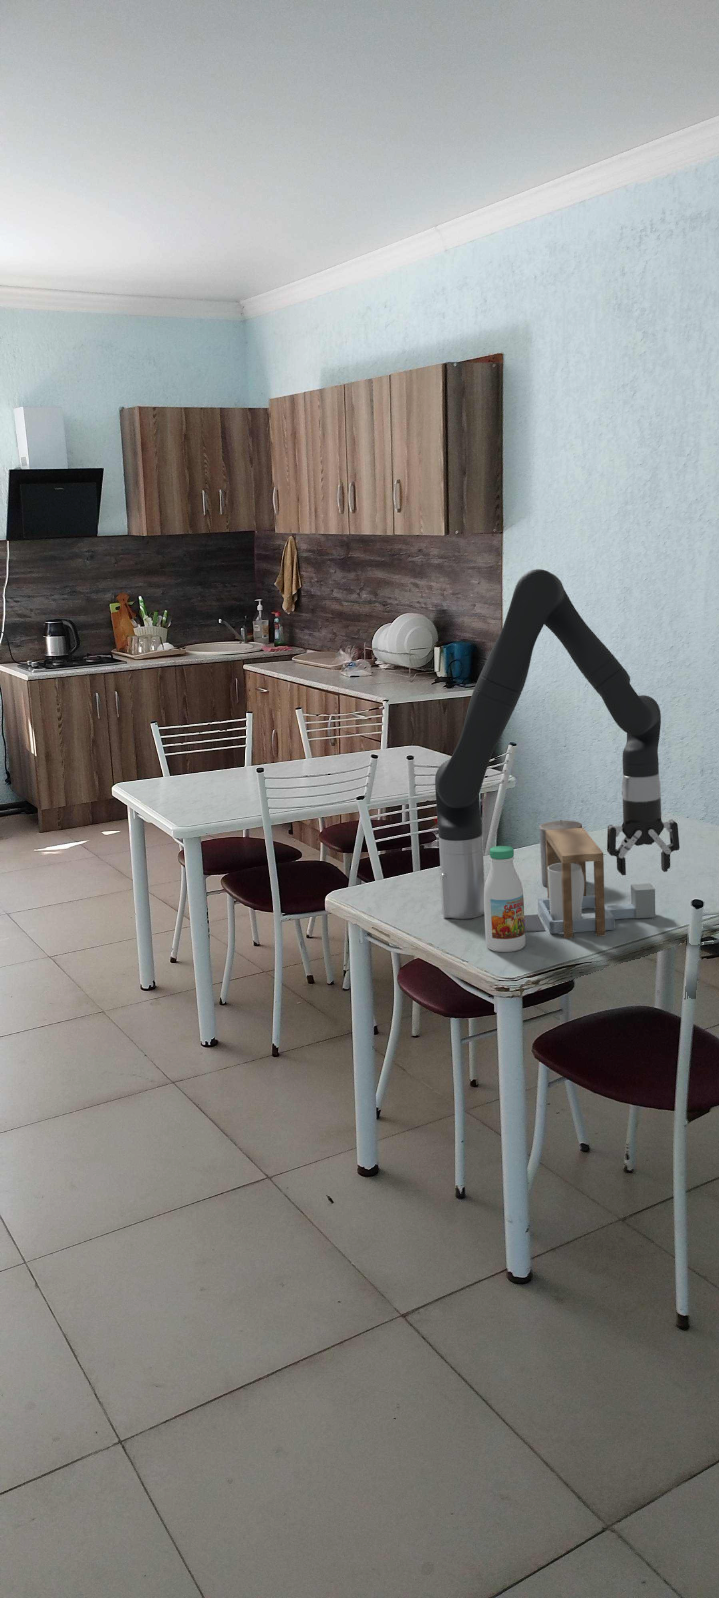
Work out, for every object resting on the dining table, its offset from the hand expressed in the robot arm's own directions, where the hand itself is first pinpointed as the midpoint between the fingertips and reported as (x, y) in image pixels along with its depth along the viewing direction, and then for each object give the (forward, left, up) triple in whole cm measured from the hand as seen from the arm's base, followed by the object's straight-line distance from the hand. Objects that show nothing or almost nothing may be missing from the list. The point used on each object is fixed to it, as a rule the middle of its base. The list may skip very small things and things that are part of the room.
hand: (643, 872), depth 239 cm
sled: (-10, 0, -9) cm, 13 cm away
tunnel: (-14, 0, -9) cm, 17 cm away
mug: (-15, 0, -10) cm, 18 cm away
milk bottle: (-30, -12, -10) cm, 34 cm away
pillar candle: (-12, +26, -10) cm, 30 cm away
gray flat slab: (-24, 0, -9) cm, 26 cm away
